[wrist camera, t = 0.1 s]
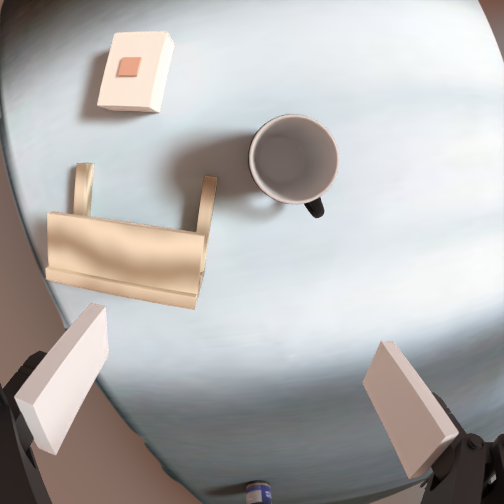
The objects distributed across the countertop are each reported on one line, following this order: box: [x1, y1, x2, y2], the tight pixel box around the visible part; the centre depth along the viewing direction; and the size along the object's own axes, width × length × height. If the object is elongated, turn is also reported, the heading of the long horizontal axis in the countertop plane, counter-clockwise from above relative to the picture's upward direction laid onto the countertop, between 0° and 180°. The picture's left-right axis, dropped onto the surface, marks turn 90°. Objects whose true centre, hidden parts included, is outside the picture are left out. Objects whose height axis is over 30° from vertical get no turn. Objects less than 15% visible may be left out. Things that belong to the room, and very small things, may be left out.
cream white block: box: [97, 32, 175, 113], centre depth 31 cm, size 10×7×6 cm
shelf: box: [45, 163, 218, 310], centre depth 34 cm, size 14×19×10 cm
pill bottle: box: [246, 481, 272, 504], centre depth 54 cm, size 6×6×11 cm
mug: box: [248, 114, 339, 218], centre depth 33 cm, size 12×9×10 cm
